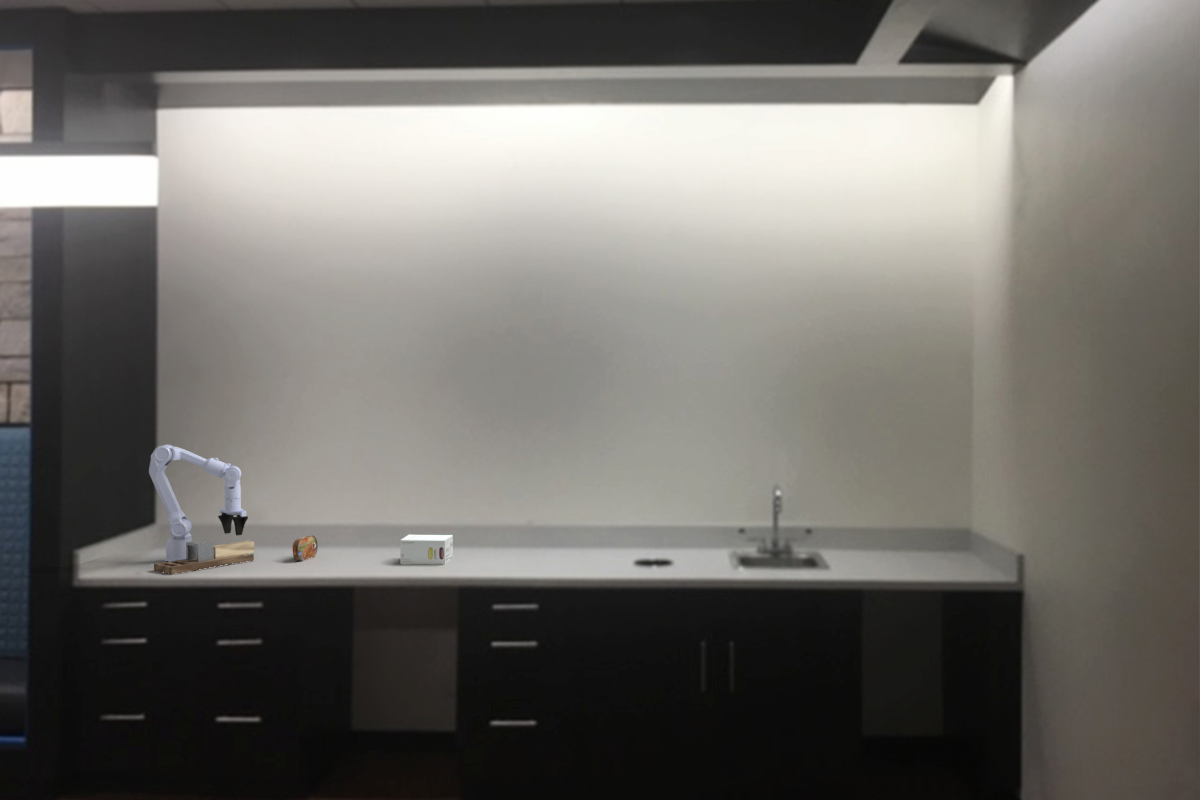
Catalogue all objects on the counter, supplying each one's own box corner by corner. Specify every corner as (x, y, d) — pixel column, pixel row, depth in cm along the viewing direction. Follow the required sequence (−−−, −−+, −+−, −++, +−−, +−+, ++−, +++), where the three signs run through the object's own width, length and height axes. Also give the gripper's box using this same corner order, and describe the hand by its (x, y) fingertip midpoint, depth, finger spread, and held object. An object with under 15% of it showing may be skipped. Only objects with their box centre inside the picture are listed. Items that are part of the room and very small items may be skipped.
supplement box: (399, 565, 355) (399, 539, 355) (409, 558, 368) (408, 533, 368) (445, 565, 354) (445, 539, 354) (453, 558, 367) (453, 534, 367)
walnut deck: (154, 570, 346) (154, 563, 346) (235, 557, 371) (235, 550, 371) (172, 574, 338) (172, 566, 338) (253, 561, 364) (253, 553, 364)
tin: (298, 562, 360) (298, 540, 360) (291, 562, 361) (290, 539, 361) (318, 555, 375) (318, 533, 375) (311, 555, 376) (310, 533, 375)
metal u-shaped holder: (186, 559, 353) (185, 542, 353) (201, 557, 358) (201, 539, 358) (198, 562, 348) (198, 544, 348) (213, 559, 353) (213, 541, 353)
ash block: (209, 557, 358) (209, 546, 358) (248, 551, 371) (248, 540, 371) (215, 558, 356) (215, 547, 356) (254, 552, 369) (254, 541, 369)
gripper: (253, 498, 367) (253, 534, 367) (231, 496, 375) (231, 531, 376) (236, 500, 361) (237, 537, 361) (214, 497, 370) (215, 533, 370)
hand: (233, 534), depth 368 cm, fingers open, 7 cm apart
